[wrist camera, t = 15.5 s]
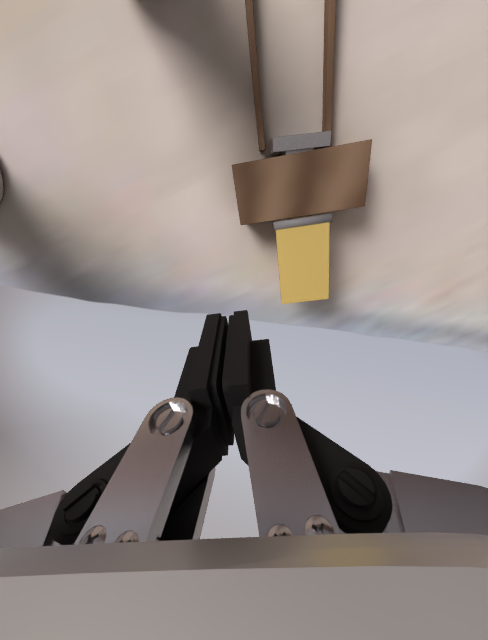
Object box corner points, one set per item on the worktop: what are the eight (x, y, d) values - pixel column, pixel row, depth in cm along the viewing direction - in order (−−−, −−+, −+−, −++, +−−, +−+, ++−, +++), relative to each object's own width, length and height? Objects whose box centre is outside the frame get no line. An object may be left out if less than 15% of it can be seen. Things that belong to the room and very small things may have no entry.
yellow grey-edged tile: (280, 302, 32) (280, 305, 31) (273, 221, 27) (273, 222, 26) (328, 296, 31) (330, 299, 30) (329, 212, 27) (332, 213, 26)
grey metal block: (314, 237, 33) (322, 244, 29) (272, 241, 33) (275, 248, 30) (321, 136, 27) (331, 130, 23) (270, 142, 27) (272, 137, 24)
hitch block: (242, 218, 32) (240, 225, 28) (205, -35, 21) (194, -84, 17) (350, 201, 30) (364, 206, 26) (372, -82, 19) (402, -147, 15)
